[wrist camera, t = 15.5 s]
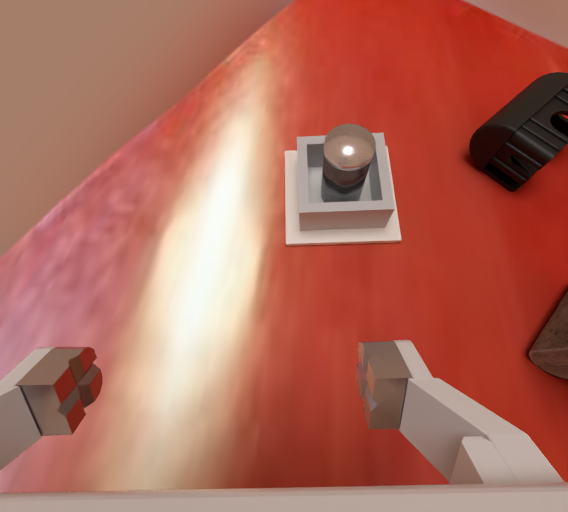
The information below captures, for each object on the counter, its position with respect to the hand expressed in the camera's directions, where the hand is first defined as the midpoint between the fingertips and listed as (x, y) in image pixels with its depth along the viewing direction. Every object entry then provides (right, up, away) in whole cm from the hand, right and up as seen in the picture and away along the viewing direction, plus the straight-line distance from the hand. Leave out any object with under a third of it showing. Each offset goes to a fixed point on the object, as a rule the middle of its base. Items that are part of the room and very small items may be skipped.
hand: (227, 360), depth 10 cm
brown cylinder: (+8, +10, +26) cm, 29 cm away
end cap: (+28, +15, +27) cm, 42 cm away
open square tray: (+8, +10, +26) cm, 29 cm away
